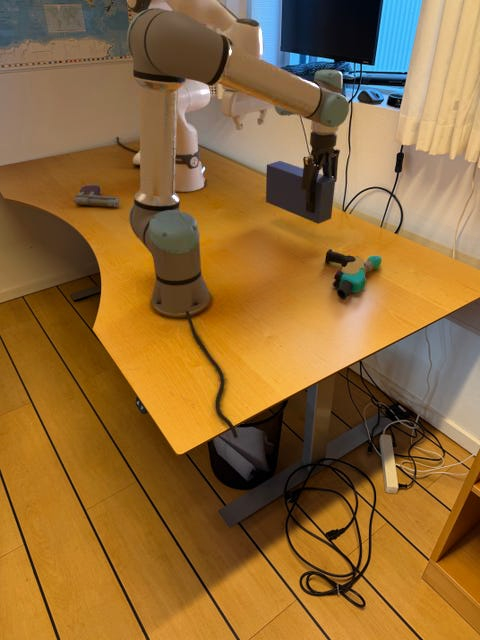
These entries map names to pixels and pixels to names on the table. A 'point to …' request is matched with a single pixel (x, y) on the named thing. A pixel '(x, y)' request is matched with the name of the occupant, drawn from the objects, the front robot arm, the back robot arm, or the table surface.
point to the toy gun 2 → (351, 272)
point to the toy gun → (94, 197)
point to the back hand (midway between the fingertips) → (250, 127)
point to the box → (298, 192)
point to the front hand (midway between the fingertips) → (317, 208)
